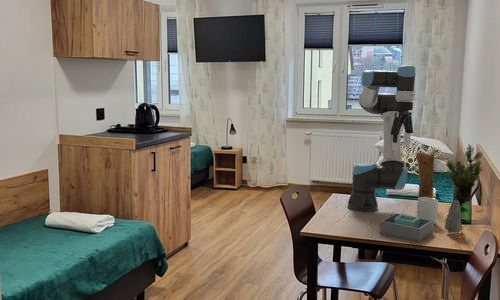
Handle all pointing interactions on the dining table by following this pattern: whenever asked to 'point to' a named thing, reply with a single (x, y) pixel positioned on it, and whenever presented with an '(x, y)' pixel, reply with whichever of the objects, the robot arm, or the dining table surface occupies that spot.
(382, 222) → the grey crate
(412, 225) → the block
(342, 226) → the dining table surface
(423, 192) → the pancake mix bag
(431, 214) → the mug
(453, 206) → the stone tool
